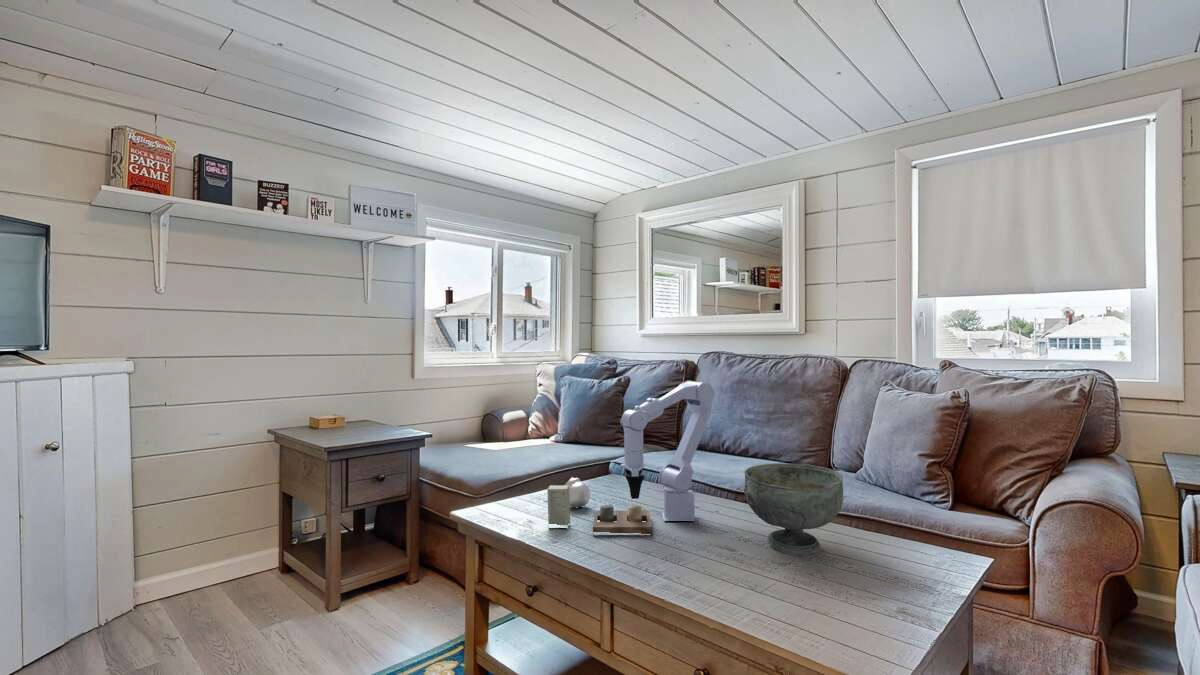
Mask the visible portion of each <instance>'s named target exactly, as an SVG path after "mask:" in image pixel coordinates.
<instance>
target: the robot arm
mask: <svg viewBox="0 0 1200 675" xmlns="http://www.w3.org/2000/svg"><path fill="white" fill-rule="evenodd" d="M715 396H716V394H715V390H714V388H713V386H712V384H711V383H710V382H708V381H695V380H686V381H684V382H682V383H680V384H679V385H678V386H677V387H675V388H674V389H671V391H669V392H668V393H666V394H664V395H663V396H661V397H660V398H655V397H654V398H653V397H652V398H651V397H648V398H647V399H646V401H645V402H644V403H642V404H640V405H635V406H634V408H633V409H627V410H626V411H624V412H623V414H622V415H621V418H620V419H619V421H620V425H621V426H622V427H623V435H624V436H623V437H624V438H623V440H624V442H623V446H624V447H623V449H624V463H620V468H623V469H624V472H625V479H626V480H627V483H628V488H629V493H630V494H629V495H630V497H631V500H634V499H635V500H638V499H639V498H640V493H641V488H642V484H643V481H644V479H645V477H646V476H645V475H644V474H643V475H642V472H643V469H644V468H645V464H644V429H645V428H646V426H647V424H648V423H650V422H651V421H653V420H655V419H657V418H658V417H660V416H661V415H662V416H663V414H664V411H665V410H664V409H667V408H669V407H670V406H672V405H674V404H677V403H678V402H681V401H682V400H685V402H686V403H687V405H688V406H689V407H690V408H691V412H692V413H691V416H690V418H689V420H688V423H687V425H686V428H685V430H684V432H683V435H682V437H681V439H680V441H679V443H678V444H679V445H678V446H677V449H676V451H675V453H674V456H673V457H672V458H670V459H668V460H667V461H666V464H665V465H664V466H663V467H662V468H661V470H660V472H659V474H658V478H659V482H660V483H661V484H662V488H663V512H662V513H661V516H662V515H663V516H662V520H663V522H665V521H694V522H696V519H695V513H696V511H695V494H694V490H693V489H689V488H690V487H692V486H691V485H692V483H693V482H692V481H693V480H692V478H693V475H694V469H693V466H692V465H691V463H692V462H693V461H692V460H693V459H694V456H695V454H696V451H697V449H698V446H699V444H700V441H701V439H702V437H703V433H704V432H705V429H706V427H707V424H708V423H709V422H708V421H709V419H710V417H711V414H712V405H713V401H714V399H715Z"/></svg>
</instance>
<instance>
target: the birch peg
mask: <svg viewBox="0 0 1200 675" xmlns="http://www.w3.org/2000/svg"><path fill="white" fill-rule="evenodd" d="M627 509H628V510H627V511H628V522H642V510H643V509H642V505H639V504H632V505H631V504H630V505H628V507H627Z"/></svg>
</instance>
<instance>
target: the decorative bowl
mask: <svg viewBox="0 0 1200 675" xmlns="http://www.w3.org/2000/svg"><path fill="white" fill-rule="evenodd" d="M743 472H744V488H743V493H744V497H745V501H746V502H747V505H748V506H749V507H750V509H751V511H752V512H754V514H755V515H756V516H757V517H758V518H759V519H761V521H763V522H765V523H766V524H767V525H771V526H772V527H779V528H782V529H778V530H774V531H772V532H771V533H769V534H768V536H767V543H768V544H769V545H770V547H772V548H773V549H776V550H777V551H779V552H782V553H786V554H789V555H800V556H801V555H803V556H806V555H812V554H815V553H817V552H819V551H820V549H821V545H820V542H819V540H818V539H817V538H816V537H815V536H814V535H813V534H810V533H809V532H806V531H804V530H813V529H818V528H821V527H824V526H826V525H828V524H830V523H831V522H832V521H834V519H835V518H836V517H837V516H838V515H839V513H840V511H841V510H842V505H843V502H844V500H843V499H844V485H843V484H844V482H843V481H844V480H843V479H844V478H843V474H841V473H840V472H839V471H837V470H835V469H831V468H828V467H824V466H818V465H813V464H812V465H811V464H805V463H801V464H800V463H789V462H788V463H784V462H782V463H780V462H779V463H777V462H776V463H763V464H756V465H752V466H749V467H747V468H746V469H744V471H743Z"/></svg>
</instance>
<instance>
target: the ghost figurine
mask: <svg viewBox="0 0 1200 675" xmlns="http://www.w3.org/2000/svg"><path fill="white" fill-rule="evenodd" d="M564 485H569V497H570V507H571V506H572V507H571V508H573V507H582V506H584V507H585V506H586V505H588V503H589V501H590V499H591V490H590V488H589V486H588V485H587V484H586V483H585V482H583V481H582V480H581V479H580V478H579V477H571V478H569V479H568V481H567V482H565V484H564ZM582 508H583V507H582Z"/></svg>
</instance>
